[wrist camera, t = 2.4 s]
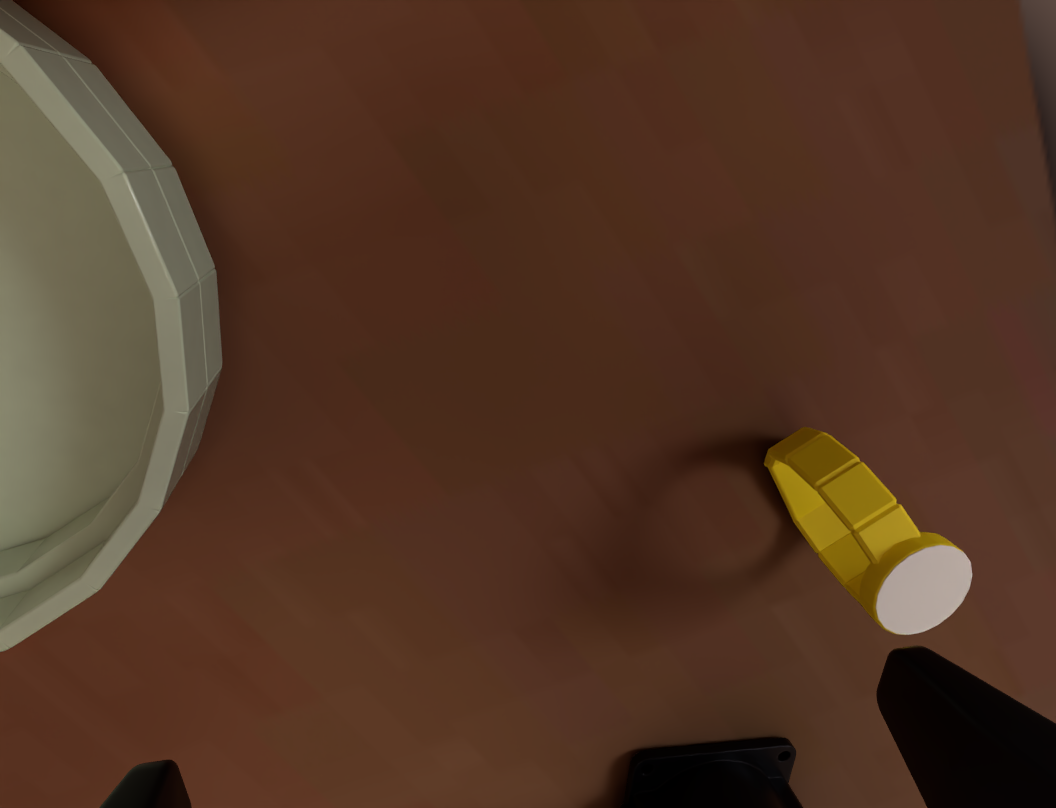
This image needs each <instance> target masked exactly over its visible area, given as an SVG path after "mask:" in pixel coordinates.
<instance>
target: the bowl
mask: <svg viewBox="0 0 1056 808" xmlns="http://www.w3.org/2000/svg"><path fill="white" fill-rule="evenodd" d="M214 268H215V265H214V263H213V260H212V258H211V255H210V253H209V251H208V248H207V246H206V243H205V241H204V238H203V236H202V233H201V231H200V228H199V226H198V223H197V221H196V219H195V216H194V214H193V211H192V209H191V206H190V204H189V201H188V199H187V196H186V194H185V191H184V189H183V187H182V184H181V182H180V179H179V177H178V174H177V172H176V169H175V168H174V167H173V166H172V163H171V161H170V160H169V158H168V157H167V156H166V154H165V153H164V152H163V151H162V149H161V148H160V147H159V145H158V144H157V143H156V142H155V140H154V139H153V138H152V137H151V135H150V134H149V133H148V131H147V130H146V129H145V128H144V126H143V125H142V124H141V123H140V121H139V120H138V119H137V117H136V116H135V115H134V114H133V112H132V111H131V110H130V109H129V107H128V106H127V105H126V103H125V102H124V101H123V100H122V98H121V97H120V96H119V95H118V93H117V92H116V91H115V89H114V88H113V87H112V86H111V84H110V83H109V82H108V81H107V79H106V78H105V77H104V75H103V74H102V73H101V72H100V70H99V69H98V68H97V67H96V66H95V65H94V64H92V62H91V61H90V59H88V58H87V57H86V56H84V55H83V54H82V53H80V52H79V51H78V50H76V49H75V48H74V47H73V46H71V45H70V44H69V43H67V42H66V41H65V40H63V39H62V38H61V37H59V36H58V35H57V34H55V33H54V32H53V31H52V30H50V29H49V28H48V27H46V26H45V25H44V24H42V23H41V22H40V21H38V20H37V19H36V18H34V17H33V16H32V15H31V14H29V13H28V12H27V11H25V10H24V9H23V8H21V7H20V6H19V5H17V4H16V3H15V2H13V1H12V0H0V652H2V651H5V650H8V649H9V648H12V647H14V646H15V645H17V644H18V643H20V642H21V641H23V640H24V639H26V638H27V637H29V636H30V635H32V634H34V633H35V632H37V631H38V630H40V629H41V628H43V627H44V626H46V625H47V624H49V623H51V622H52V621H54V620H55V619H57V618H58V617H60V616H61V615H63V614H64V613H66V612H67V611H69V610H71V609H72V608H74V607H75V606H77V605H78V604H80V603H81V602H83V601H84V600H86V599H87V598H89V597H91V596H92V595H94V594H95V593H97V592H98V590H100V589H101V588H102V587H103V586H104V584H105V583H106V582H107V580H108V579H109V578H110V577H111V575H112V574H113V573H114V571H115V570H116V569H117V567H118V566H119V565H120V564H121V562H122V561H123V560H124V558H125V557H126V556H127V555H128V553H129V552H130V551H131V549H132V548H133V547H134V545H135V544H136V543H137V542H138V540H139V539H140V538H141V536H142V535H143V534H144V532H145V531H146V530H147V529H148V527H149V526H150V525H151V523H152V522H153V521H154V520H155V518H156V517H157V516H158V514H159V513H160V511H161V510H162V508H163V506H164V505H165V503H166V501H167V500H168V498H169V496H170V495H171V493H172V491H173V490H174V488H175V486H176V485H177V483H178V481H179V479H180V478H181V476H182V474H183V473H184V471H185V469H186V468H187V466H188V464H189V463H190V461H191V459H192V458H193V456H194V454H195V453H196V451H197V449H198V447H199V443H200V440H201V437H202V433H203V430H204V427H205V423H206V420H207V417H208V413H209V410H210V407H211V403H212V400H213V397H214V393H215V390H216V387H217V383H218V380H219V376H220V373H221V370H222V349H221V334H220V319H219V303H218V288H217V273H216V270H215V269H214Z"/></svg>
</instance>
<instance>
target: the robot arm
mask: <svg viewBox="0 0 1056 808" xmlns="http://www.w3.org/2000/svg"><path fill="white" fill-rule="evenodd" d="M877 703H878V706H879V709H880V711H881V714H882V716H883V718H884V720H885V722H886V724H887V726H888V728H889V730H890V732H891V734H892V736H893V738H894V740H895V742H896V744H897V746H898V748H899V750H900V752H901V754H902V756H903V759H904V761H905V763H906V765H907V767H908V769H909V771H910V773H911V775H912V777H913V779H914V781H915V783H916V785H917V787H918V789H919V791H920V793H921V795H922V797H923V799H924V801H925V803H926V806H927V807H928V808H1056V723H1054V722H1052V721H1050V720H1049V719H1047V718H1045V717H1044V716H1042V715H1040V714H1039V713H1037V712H1035V711H1033V710H1032V709H1030V708H1028V707H1027V706H1025V705H1023V704H1022V703H1020V702H1018V701H1017V700H1015V699H1013V698H1011V697H1010V696H1008V695H1006V694H1005V693H1003V692H1001V691H1000V690H998V689H996V688H994V687H993V686H991V685H989V684H988V683H986V682H984V681H983V680H981V679H979V678H978V677H976V676H974V675H972V674H971V673H969V672H967V671H966V670H964V669H962V668H961V667H959V666H957V665H955V664H954V663H952V662H950V661H949V660H947V659H945V658H944V657H942V656H940V655H939V654H937V653H935V652H933V651H932V650H930V649H928V648H926V647H923V646H910V647H903V648H897V649H894V650H892V651H891V652H890V653H889V655H888V657H887V660H886V663H885V666H884V669H883V672H882V675H881V678H880V681H879V684H878V688H877ZM795 757H796V750H795V748H794V747H793V745H792V744H791V742H790V741H789V740H788V739H786V738H772V739H762V740H751V741H740V742H729V743H718V744H707V745H696V746H686V747H675V748H664V749H653V750H644V751H640V752H638V753H637V754H635V755H634V756H633V757H632V759H631V762H630V767H629V773H628V779H627V785H626V791H625V797H624V803H623V804H621V806H620V808H803V807H802V805H801V803H800V802H799V800H798V799H797V797H796V795H795V794H794V792H793V791H792V789H791V787H790V786H789V784H788V782H789V779H790V775H791V771H792V768H793V764H794V760H795ZM100 808H191V802H190V799H189V796H188V793H187V791H186V788H185V785H184V782H183V779H182V776H181V774H180V771H179V768H178V766H177V764H176V763H175V762H174V761H172V760H162V761H155V762H149V763H142V764H139V765H137V766H135V767H134V768H132V769H131V770H130V771H129V772H128V773H127V774H126V776H125V777H124V778H123V779H122V781H121V782H120V783H119V784H118V786H117V787H116V788H115V789H114V790H113V792H112V793H111V794H110V795H109V797H108V798H107V799H106V800H105V802H104V803H103V804H102V805H101V806H100Z"/></svg>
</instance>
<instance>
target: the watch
mask: <svg viewBox="0 0 1056 808" xmlns="http://www.w3.org/2000/svg"><path fill="white" fill-rule="evenodd" d="M764 465H765V467H768V469H769V471H770V473H771V476H772V478H773V480H774V482H775V484H776V486H777V488H778V490H779V492H780V494H781V496H782V498H783V500H784V503H785V505H786V507H787V509H788V511H789V513H790V515H791V517H792V519H793V522H794V523H795V525H796V526H797V528H798V529H799V531H800V532H801V533H802V535H803V536H804V538H805V539H806V540H807V542H808V543H809V545H810V546H811V548H812V549H813V550H814V552H815V553H818V557H819V558H820V559H821V561H822V562H823V563H824V564H825V565H826V567H827V568H828V569H829V570H830V572H831V573H832V574H833V575H834V576H835V578H836V579H837V580H838V581H839V582H840V584H841V585H842V586H843V587H845V588H846V590H847V591H848V592H849V593H850V594H851V595H852V596H853V597H854V598H855V599H856V600H857V601H858V602H859V603H860V604H861V605H862V607H863V608H864V609H865V611H866V612H867V613H868V614H869V616H870V617H871V618H872V619H873V620H874V621H875V622H876V623H877V624H878V625H879V626H880V627H881V628H883V629H885V630H887V631H889V632H891V633H893V634H902V635H911V634H915V633H920V632H924V631H926V630H928V629H930V628H932V627H935V626H937V625H939V624H940V623H941V622H942V621H944V620H945V619H946V618H948V617H949V616H950V615H952V613H953V612H954V611H955V610H956V609H957V608H958V606H959V605H960V604H961V603H962V602H963V600H964V598H965V596H966V594H967V592H968V590H969V588H970V584H971V579H972V568H971V562H970V561H969V559H968V558H967V556H966V555H965V553H964V552H963V551H962V550H961V549H959V548H958V547H957V546H955V545H954V544H952V543H951V542H950V541H948V540H947V539H945V538H944V537H942V536H940V535H938V534H936V533H928V532H919V531H918V529H917V528H916V526H915V525H914V523H913V522H912V520H911V519H910V517H909V516H908V514H907V513H906V511H905V510H904V509H903V507H902V506H901V505H900V504H896V498H895V497H894V496H893V495H892V494H891V492H890V491H889V490H888V489H887V488H886V487H885V486H884V485H883V484H882V482H881V481H880V480H879V479H878V478H877V477H876V476H875V475H874V474H873V472H872V471H871V470H870V469H869V468H868V467H867V466H866V465H865V464H864V462H860V460H859V458H858V457H857V456H856V455H855V454H853V453H852V452H851V451H849V450H848V449H847V448H846V447H844V446H843V445H842V444H841V443H839V442H838V441H837V440H836V439H834V438H833V437H832V436H831V435H828V434H827V433H825V432H821V431H818V430H814V429H811V428H807V427H804V428H801V429H799V430H798V431H796V432H795V433H793V434H792V435H790V436H788V437H787V438H785V439H784V440H782V441H780V442H779V443H777V444H776V445H774V446H773V447H771V448H769V449H768V452H767V454H766V457H765V462H764Z"/></svg>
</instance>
